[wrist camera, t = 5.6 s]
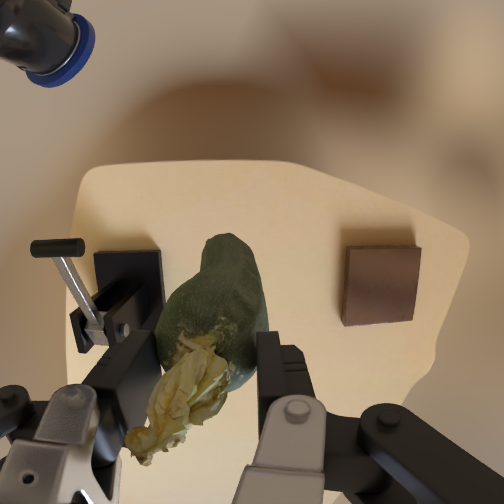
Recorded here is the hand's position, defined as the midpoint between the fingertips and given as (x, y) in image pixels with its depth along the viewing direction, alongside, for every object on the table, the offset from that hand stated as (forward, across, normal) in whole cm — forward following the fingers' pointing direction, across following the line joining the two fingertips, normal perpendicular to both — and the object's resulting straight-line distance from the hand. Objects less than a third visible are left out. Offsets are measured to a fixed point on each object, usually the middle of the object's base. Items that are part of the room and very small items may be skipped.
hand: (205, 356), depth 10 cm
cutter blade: (+16, +14, +3) cm, 22 cm away
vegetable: (+15, 0, 0) cm, 15 cm away
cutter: (+28, +14, +8) cm, 32 cm away
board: (+28, -18, +7) cm, 34 cm away
